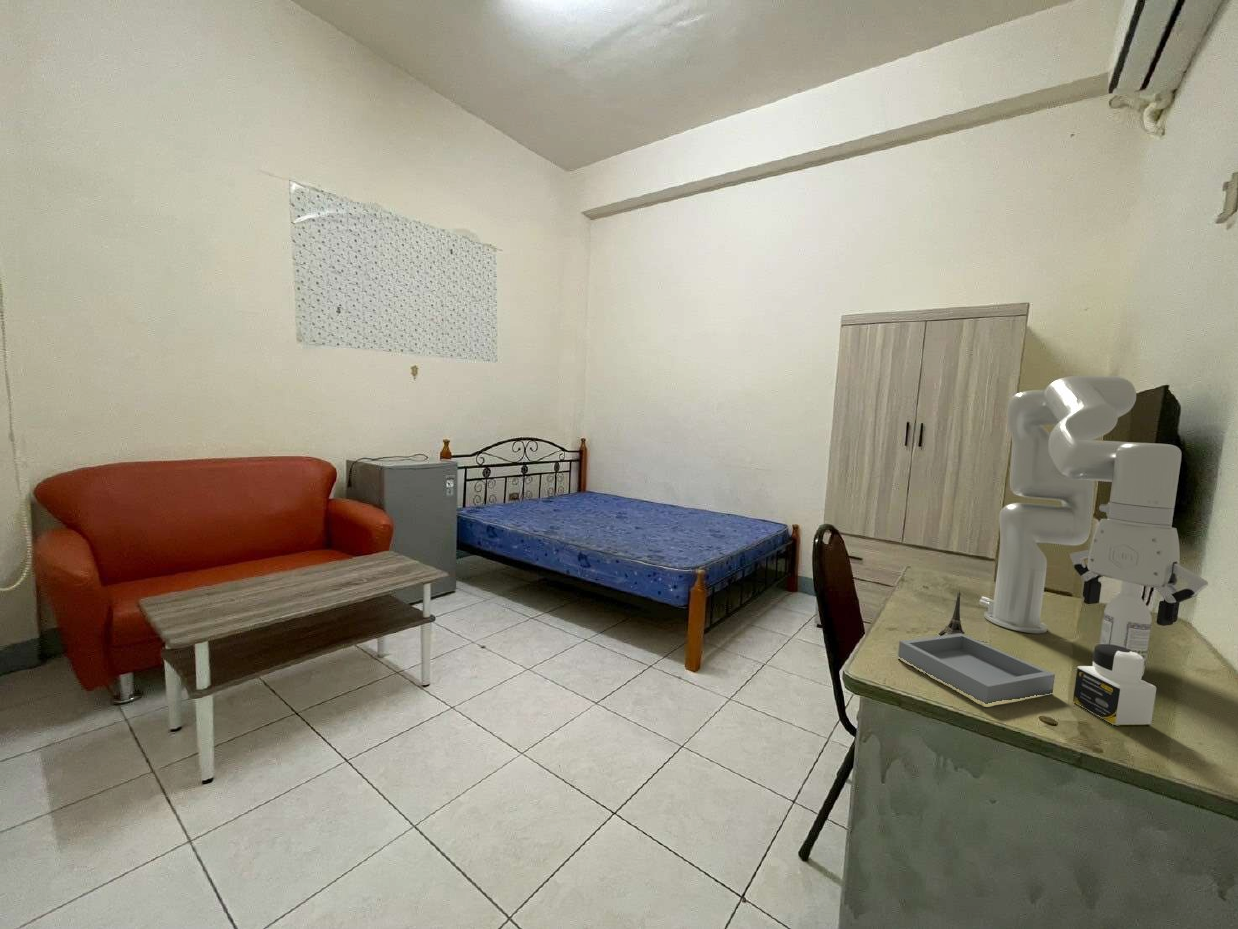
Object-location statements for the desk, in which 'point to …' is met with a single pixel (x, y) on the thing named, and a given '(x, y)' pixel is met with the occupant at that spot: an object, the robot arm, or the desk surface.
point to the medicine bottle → (1115, 686)
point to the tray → (976, 668)
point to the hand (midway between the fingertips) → (1125, 613)
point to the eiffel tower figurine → (955, 621)
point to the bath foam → (1127, 621)
